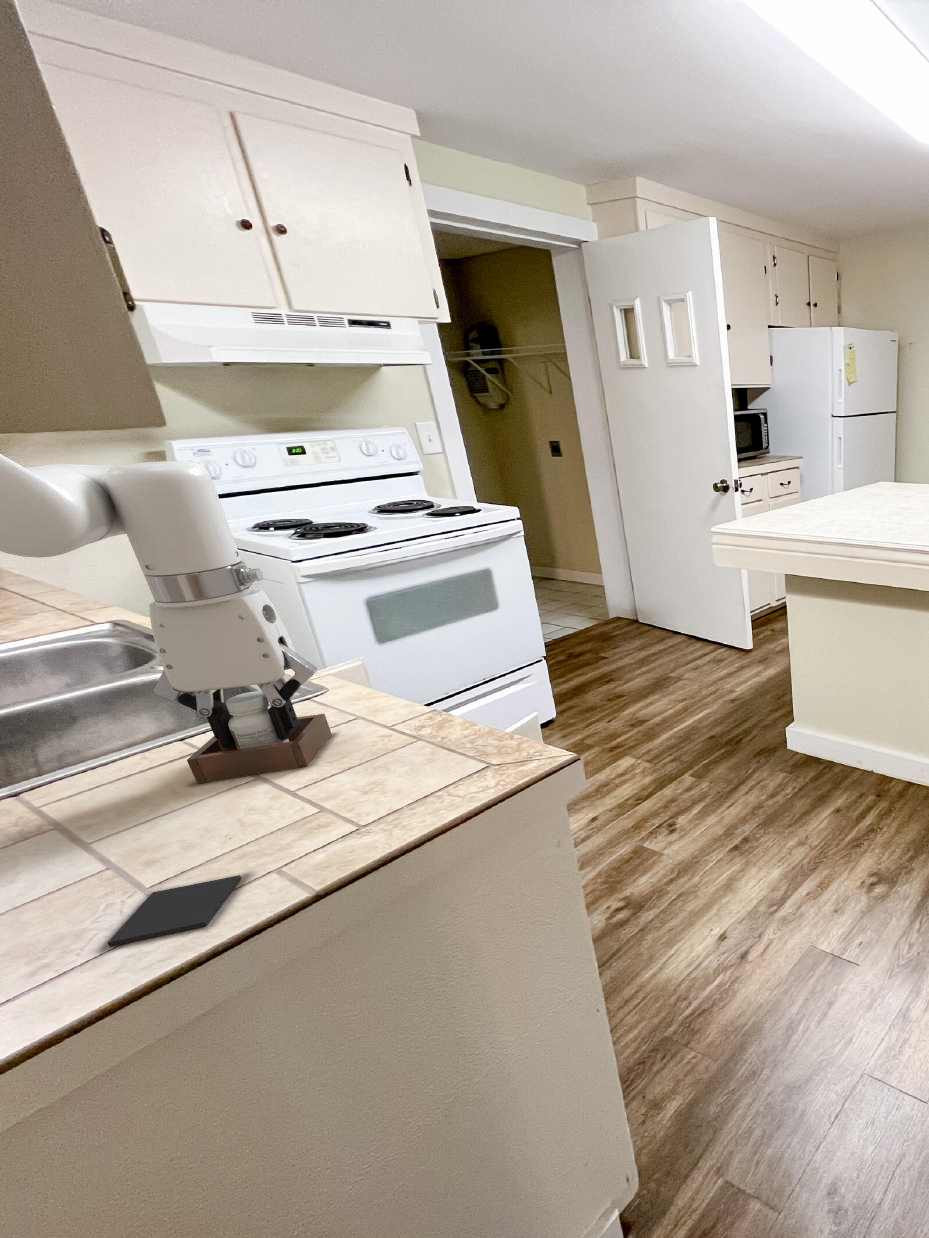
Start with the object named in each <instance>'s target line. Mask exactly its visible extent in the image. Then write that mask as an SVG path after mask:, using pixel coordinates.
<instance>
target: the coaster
mask: <svg viewBox="0 0 929 1238" xmlns="http://www.w3.org/2000/svg"><path fill="white" fill-rule="evenodd" d="M240 881H242V876H241V875H239V874H238V875H233V876H229V877H228V876H227V877H223V878H219V879H213V880H208V881H203V882H199V883H194V884H189V885H184V886H183V885H182V886H178V887H172V888H167V889H163V890H158V891H153V892H152V893H150V895H149V896H148V897H147V898H146V899H145V900H144V901H143V903H142V904H140V905H139V907H138V908H137V909H136V910H135V911H134V912H133V913H132V915H131V916H130V917H129V918H128V919H127V920H126V921H125V922H124V923H123V924H122V926H121V927H120V928H119V929H118V930H117V931H116V932H115V933H114V934H113V936H112V937H110V939H109V940H108V941H107V943H106V944H107V945H108V947H115V946H119V945H123V944H127V943H133V942H137V941H142V940H146V939H151V938H156V937H160V936H165V935H170V934H171V935H172V934H175V933H180V932H185V931H189V930H194V929H199V928H202V927H206V926H208V924H209V923H210V921H211V920H212V919H213V918H214V916H215V915H216V913H218V911H219V910H220V908H221V907H222V905H224V904H225V902H226V900H227V899H228V898H229V896H230V895H231V894H232V892H233V891H234V889H235V888H236V887H237V886H238V884H239V883H240Z"/></svg>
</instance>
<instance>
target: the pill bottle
mask: <svg viewBox="0 0 929 1238" xmlns="http://www.w3.org/2000/svg"><path fill="white" fill-rule="evenodd" d="M225 705H227V708H228V711H229V714H230V715H233V717H232V718H231V719H230V720H229V722H228V726H229V729H230V731H231V734H232V736H233V738H234V741H235V743H236V746H237V748H238V749H245V748H251V747H258V746H265V745H271V744H278V743H285V742H289V739H284V740H280V739H278V737H277V735H276V732H275V729H274V727H273V724H272V721H271V719H270V716H269V714H268V709H269V708H270V707H269V706H270V702H269V700H268V699H267V697H266V696H265V695H264V693H263V692H262V691H249V692H242V693H239V694H237V695H235V696H231V697H229V698H228V699H226V700H225Z"/></svg>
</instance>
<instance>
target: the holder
mask: <svg viewBox="0 0 929 1238" xmlns="http://www.w3.org/2000/svg"><path fill="white" fill-rule="evenodd" d="M297 719H298V726H297V727H296V730H295V731H294V732H293V733H292V734H291V735H290V736H289V738H288V739H289V742H285V743H278V744H271V745H265V746H258V747H251V748H245V749H238V748H237V746H236V743H235V744H234V745H233V746H232V747H230V748H223V747H222V745H221V743H220V740H219V739H216V738H215V736H214V735H213V736H212V737H211V738H210V739H209V740H207V741H206V742H205V743H204V744H203V745H202V746H200V748H198V749H197V750H196V751H195V752H193V753H192V754H191V756H189V757H188V758H187V759H186V762H187V764H188V766H189V769H190V771H191V774H192V775H193V778H194V780H195V782H196V784H197V785H198V784H205V783H210V782H217V781H218V782H219V781H223V780H230V779H235V778H236V779H237V778H242V777H248V776H254V775H262V774H267V773H273V772H279V771H285V770H286V771H287V770H292V769H299V768H304V767H308V766H309V765H310V763H311V762H312V761H313V760H314V758H315V757H316V756H317V754H318V753H320V751H321V749H322V748H323V747H324V746H325V744H326V743H327V742H328V741H329V740H330V738H331V737H332V736H333V734H332V732H331V728H330V725H329V722H328V719H327V717H326V714H325V713H318V714H311V715H310V714H309V715H304V716H297Z"/></svg>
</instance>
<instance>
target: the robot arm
mask: <svg viewBox="0 0 929 1238" xmlns="http://www.w3.org/2000/svg"><path fill="white" fill-rule="evenodd" d="M219 497H220V496H219V494H218V491H217V489H216V486H215V484H214V480H213V478H212V476H211V474H210V473H209V471H208V470H207V469H206V468H205V467H204V466H203V465H201V464H199V463H197V462H193V461H188V460H164V461H163V460H162V461H161V460H160V461H146V462H135V463H134V462H133V463H125V464H121V465H104V464H103V465H101V464H85V463H84V464H83V463H48V464H43V465H35V466H27V467H24V466H22V465H20V464H18V463H17V462H15V461H14V460H12V459H11V458H8V456H7V457H6V456H5V455H3V454H2V453H0V552H1V553H4V554H8V555H11V556H17V557H23V558H39V559H40V558H50V557H57V556H62V555H64V554H67V553H70V552H72V551H75V550H77V549H80V548H83V547H86V546H87V545H90V544H94V543H97V542H100V541H103V540H105V539H108V538H112V537H117V536H121V535H126V536H127V538H128V541H129V543H130V546H131V548H132V550H133V552H134V553H133V554H134V555H135V557H136V560H137V563H138V565H139V567H140V569H141V571H142V574H143V576H144V579H145V581H146V583H147V586H148V588H149V590H150V593H151V595H152V597H153V600H154V601H152V602H151V603H150V604H149V605H148V607H149V608H148V609H149V619H150V627H151V631H152V637H153V640H154V644H155V648H156V651H157V655H158V658H159V660H160V663H161V666H162V669H163V670H162V673H161V675H160V676H159V678H158V681H157V682H156V684H155V687H154V688H153V693H154V694H155V695H156V696H158V697H161V698H164V699H167V700H170V701H175V702H177V703H179V704H181V705H183V706H185V707H187V708H189V709H191V710H194V711H195V712H197V714H198V716H200V717H202V718H206V719H207V722H208V724H209V726H210V729H211V731H212V733H213V736H215V738H216V739H219V740H220V743H221V745H222V747H223V748H230V747H232V746H233V745H234V744H235V741H234V738H233V736H232V734H231V731H230V729H229V726H228V722H229V720H230V719H231V718H232V717H233V715H230V714H229V711H228V708H227V705H226V702H225V700H224V699H225V698H224V689H231V688H232V689H233V688H240V687H248V686H255V685H256V686H257V687H258V688H259V689H260V690H261V692H263V693H264V695H265V696H266V697H267V699H268V700H269V705H270V707H268V708H269V709H268V714H269V716H270V719H271V721H272V724H273V727H274V729H275V732H276V735H277V737H278V739H280V740H284V739H288V738H289V736H290V735H291V734H292V733H293V732H294V731H295V730H296V727H297V726H298V719H297V717H298V716H297V713H296V711H295V707H294V705H293V702H292V700H291V698H293V696H294V695H295V694H296V692H297V691H298V690H299V689H300V687H301V686H302V685H304V684H305V683H306V682H307V681H309V679H311V678H312V677H313V676H314V675H315V674H316V673H317V672H318V667H317V666H316V665H314V664H313V663H311V662H310V661H308V660H307V659H305V658H304V657H303V656H301V655H300V654H298V653H297V651H296V648H295V647H294V644H293V642H292V640H291V636H290V634H289V633H288V630H287V629H286V626H285V624H284V623H283V620H282V619H281V617H280V614H279V613H278V612H277V609H276V608H275V606H274V605H273V603H272V601H271V599H270V598H269V597H268V595H267V594H266V592H265V591H264V589H263V588H262V587H252V586H253V583H255V582H260V581H261V582H262V581H263V579H264V575H263V571H262V570H261V569H260V568H258V567H255V568H251V567H247V565H246V562H245V561H242V557H241V555H240V552H239V549H238V546H237V544H236V541H235V539H234V536H233V533H232V530H231V527H230V525H229V522H228V519H227V516H226V513H225V511H224V509H223V505H222V502H221V500H220V498H219ZM290 669H291V671H293V672H294V674H293V675H292V677H290V678H289V679H288V680H287V681H286V679H285V677H284V676H285V671H287V670H290Z"/></svg>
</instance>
